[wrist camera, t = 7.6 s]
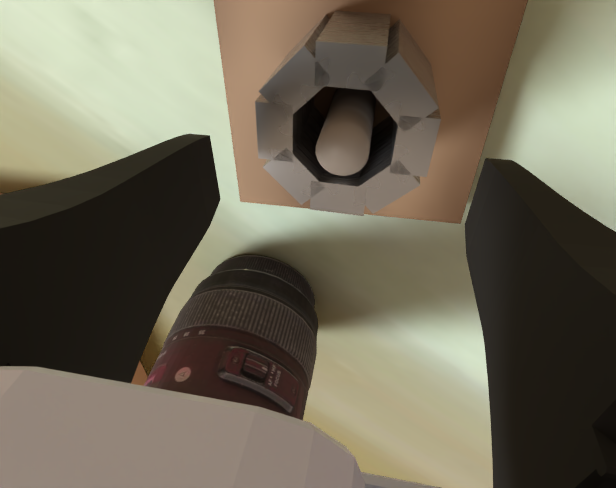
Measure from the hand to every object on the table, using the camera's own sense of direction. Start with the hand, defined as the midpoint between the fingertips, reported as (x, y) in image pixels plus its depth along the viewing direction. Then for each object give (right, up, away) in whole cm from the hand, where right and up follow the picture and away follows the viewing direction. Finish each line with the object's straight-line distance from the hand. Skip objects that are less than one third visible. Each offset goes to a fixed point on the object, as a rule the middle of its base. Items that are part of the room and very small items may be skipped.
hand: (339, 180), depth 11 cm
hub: (+1, +4, +4) cm, 6 cm away
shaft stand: (+1, +4, +5) cm, 7 cm away
